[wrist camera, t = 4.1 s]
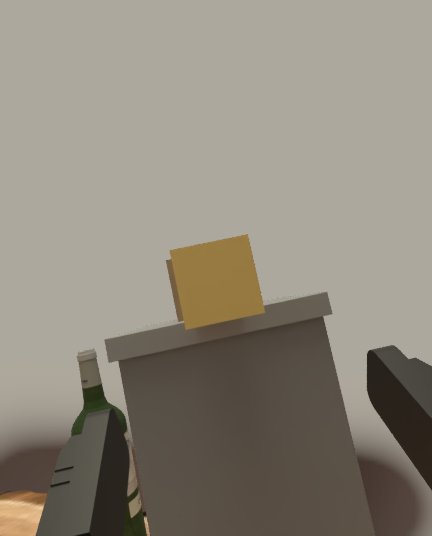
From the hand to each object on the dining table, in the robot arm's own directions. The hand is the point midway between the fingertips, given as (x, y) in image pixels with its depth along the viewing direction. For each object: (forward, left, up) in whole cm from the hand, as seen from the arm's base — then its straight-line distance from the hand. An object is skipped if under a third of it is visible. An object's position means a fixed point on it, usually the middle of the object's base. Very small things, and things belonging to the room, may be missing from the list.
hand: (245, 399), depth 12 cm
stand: (0, -21, -30) cm, 36 cm away
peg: (0, -13, +2) cm, 14 cm away
